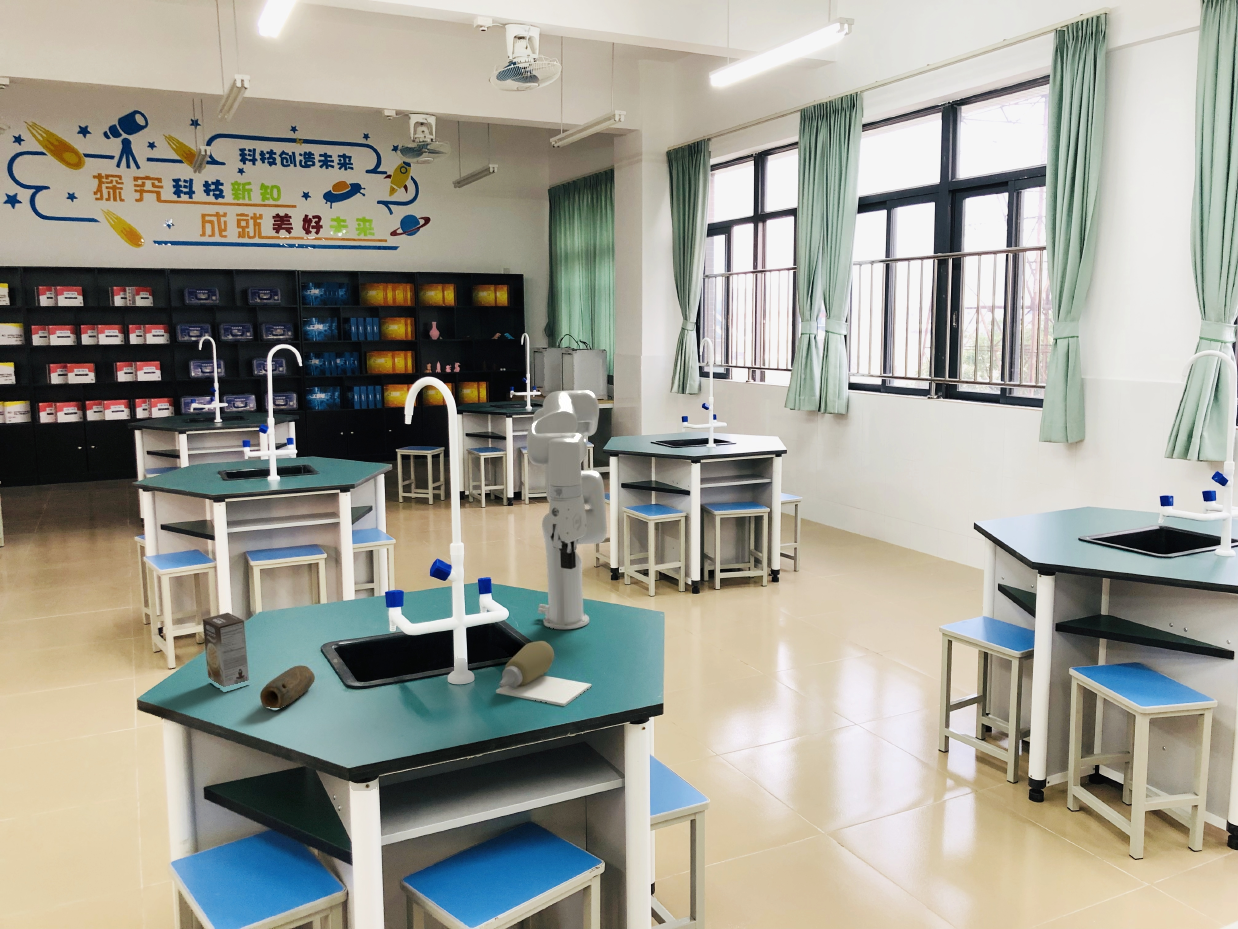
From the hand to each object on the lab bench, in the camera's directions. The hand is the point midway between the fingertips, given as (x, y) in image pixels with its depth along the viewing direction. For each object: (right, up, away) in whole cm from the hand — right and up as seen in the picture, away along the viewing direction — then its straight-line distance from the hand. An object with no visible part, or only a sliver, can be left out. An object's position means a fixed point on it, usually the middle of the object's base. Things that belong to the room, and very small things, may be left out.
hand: (568, 567), depth 222 cm
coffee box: (-80, -28, +1) cm, 85 cm away
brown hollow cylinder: (-62, -29, -9) cm, 69 cm away
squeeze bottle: (-6, -20, +3) cm, 21 cm away
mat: (-5, -27, -7) cm, 28 cm away
